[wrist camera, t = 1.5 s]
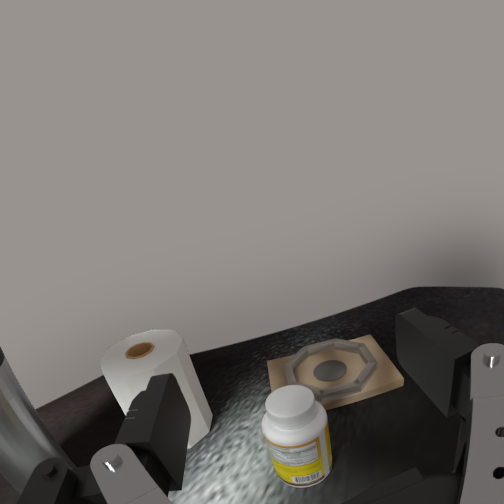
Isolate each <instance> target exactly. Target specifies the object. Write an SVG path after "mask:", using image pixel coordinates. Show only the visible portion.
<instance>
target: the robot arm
mask: <svg viewBox="0 0 504 504" xmlns="http://www.w3.org/2000/svg"><path fill="white" fill-rule="evenodd" d="M395 330H396V351H397V357H398V360H399V363H400V365H401V366H402V368H403V369H404V370H405V371H406V372H407V373H408V374H409V375H410V377H411V378H412V379H413V380H414V381H415V382H416V383H417V384H418V386H419V387H420V388H421V389H422V390H423V391H424V392H425V393H426V395H427V396H428V397H429V398H430V399H431V400H432V401H433V403H434V404H435V405H436V406H437V407H438V408H439V410H440V411H441V412H442V413H443V414H444V415H445V416H446V418H448V417H450V416H452V415H454V414H455V413H457V412H459V413H460V414H461V420H460V426H459V434H458V441H457V447H456V454H455V459H454V465H453V469H452V473H435V474H428V475H423V476H422V475H421V474H420V472H419V470H418V469H417V467H415V468H412V469H410V470H408V471H406V472H403V473H401V474H399V475H396V476H394V477H392V478H389V479H387V480H384V481H382V482H379V483H377V484H375V485H374V486H372V487H371V488H369V489H367V490H366V491H364V492H362V493H360V494H359V495H357V496H355V497H353V498H352V499H350V500H348V501H346V502H344V503H342V504H504V345H501V344H497V343H489V344H484V345H479V344H478V343H476V342H475V341H474V340H472V339H471V338H469V337H468V336H466V335H465V334H464V333H462V332H461V331H458V329H456V328H455V327H453V326H451V324H449V323H448V322H446V321H445V320H443V319H441V318H437V317H433V316H429V317H428V316H427V315H425V314H424V313H422V312H421V311H420V310H418V309H417V308H413V309H410V310H408V311H405V312H402V313H399V314H397V315H396V317H395ZM128 410H129V411H127V414H126V416H125V419H124V421H123V423H122V426H121V428H120V431H119V433H118V435H117V438H116V440H115V443H114V444H113V445H109V446H106V447H104V448H102V449H101V450H99V451H98V452H97V453H96V454H95V455H94V456H93V458H92V460H91V463H90V465H86V466H81V467H76V466H75V465H74V463H73V462H72V461H71V460H70V458H69V457H68V456H67V454H66V453H65V452H64V451H63V449H62V448H61V446H60V445H59V444H58V442H57V441H56V440H55V438H54V437H53V435H52V434H51V433H50V431H49V430H48V428H47V427H46V425H45V424H44V422H43V421H42V419H41V418H40V416H39V415H38V413H37V412H36V410H35V409H34V407H33V405H32V404H31V402H30V401H29V399H28V397H27V396H26V394H25V392H24V391H23V389H22V387H21V385H20V384H19V382H18V380H17V379H16V377H15V375H14V373H13V371H12V369H11V367H10V365H9V363H8V362H7V359H6V358H5V356H4V353H3V351H2V349H1V347H0V473H1V474H2V475H3V476H4V477H5V478H6V479H7V481H8V482H9V483H10V484H11V485H12V486H13V487H14V488H15V489H16V490H17V491H18V492H19V493H20V494H21V496H20V498H19V500H18V503H17V504H172V502H171V501H170V500H169V499H168V493H169V491H177V490H182V482H183V475H184V468H185V460H186V453H187V447H188V440H189V433H190V426H191V414H190V410H189V407H188V404H187V402H186V400H185V398H184V395H183V393H182V391H181V389H180V386H179V384H178V382H177V379H176V377H175V376H174V374H173V373H167V374H161V375H155V376H152V377H151V378H150V380H149V383H148V385H147V388H146V390H145V391H141V392H140V393H139V394H138V395H137V396H136V397H135V398H134V399H133V400H132V402H131V404H130V407H129V409H128Z"/></svg>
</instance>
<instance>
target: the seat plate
mask: <svg viewBox="0 0 504 504" xmlns="http://www.w3.org/2000/svg"><path fill="white" fill-rule="evenodd" d="M267 366H268V372H269V379H270V385H271V392H273V391H275V390H276V389H279V388H281V387H284V386H288V385H301V386H304V387H307V388H309V389H310V390H311V391H312V392H313V394H314V398H315V401H317V402H319V403H320V404H321V405H322V406H323V407H324V409H325V411H326V410H329V409H333V408H337V407H340V406H344V405H347V404H350V403H354V402H357V401H360V400H363V399H366V398H370V397H373V396H376V395H379V394H381V393H384V392H387V391H390V390H393V389H396V388H398V387H401V386H404V378H403V376H402V375H401V374H400V372H399V371H398V370H397V368H396V367H395V366H394V364H393V363H392V362H391V361H390V359H389V358H388V357H387V355H386V354H385V353H384V351H383V350H382V349H381V348H380V346H379V345H378V344H377V342H376V341H375V340H374V339H373V337H372V336H371V335H366V336H363V337H360V338H356V339H353V340H349V341H347V340H341V339H331V340H327V341H324V342H320V343H316V344H312V345H308V346H304V347H303V348H301V349H300V350H299V351H298V352H297V353H296V354H295V355H291V356H287V357H283V358H278V359H274V360H269V361H267Z"/></svg>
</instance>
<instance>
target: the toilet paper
mask: <svg viewBox="0 0 504 504" xmlns="http://www.w3.org/2000/svg"><path fill="white" fill-rule="evenodd" d="M99 363H100V366H101V369H102V372H103V374H104V376H105V378H106V380H107V382H108V384H109V386H110V388H111V390H112V392H113V394H114V396H115V398H116V399H117V401H118V403H119V405H120V407H121V408H122V410H123V412H124V414H125V415H126V414H127V411H129V410H128V409H129V407H130V404H131V402H132V400H133V399H134V398H135V397H136V396H137V395H138V394H139V393H140V392H141V391H145V390H146V388H147V385H148V383H149V380H150V378H151V377H152V376H155V375H161V374H167V373H173V374H174V376H175V377H176V379H177V382H178V384H179V386H180V389H181V391H182V393H183V395H184V398H185V400H186V402H187V404H188V407H189V410H190V414H191V426H190V433H189V440H188V447H187V449H189V448H192V447H193V446H194V445H195V444H196V443H198V442H199V441H200V440H201V439H202V438H203V437H204V436H206V435H207V434H208V433H209V432H210V427H211V421H212V416H213V415H212V412H211V410H210V407H209V405H208V402H207V400H206V397H205V395H204V393H203V390H202V387H201V385H200V382H199V380H198V377H197V375H196V372H195V369H194V367H193V364H192V361H191V359H190V356H189V353H188V350H187V348H186V345H185V342H184V339H183V338H182V337H181V336H180V335H179V334H177V333H176V332H175V331H174V330H156V329H153V330H149V331H146V332H142V333H138V334H135V335H131V336H129V337H127V338H125V339H123V340H122V341H120V342H118V343H117V344H115V345H113V346H111V347H109V349H108V350H107V351H106V352H105V354H104V355H103V356H102V358H101V359H100V360H99Z"/></svg>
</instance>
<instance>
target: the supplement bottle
mask: <svg viewBox="0 0 504 504" xmlns="http://www.w3.org/2000/svg"><path fill="white" fill-rule="evenodd" d="M265 407H266V413H265V415H264V417H263V419H262V431H263V434H264V437H265V440H266V443H267V446H268V449H269V452H270V455H271V458H272V461H273V463H274V466H275V469H276V472H277V474H278V476H279V478H280V479H281V480H282V481H283V482H284V483H286V484H287V485H290V486H293V487H300V488H301V487H309V486H313V485H315V484H318V483H319V482H321V481H322V480H324V479H325V478H326V477H327V476H328V474H329V473H330V471H331V468H332V453H331V444H330V436H329V428H328V419H327V414H326V411H325V409H324V407H323V406H322V405H321V404H320V403H319V402H317V401H315V398H314V394H313V392H312V391H311V390H310V389H309V388H307V387H304V386H301V385H288V386H284V387H281V388H279V389H276V390H275V391H273V392H272V393H271V394H270V395H269V396H268V397H267V399H266V402H265Z"/></svg>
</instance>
